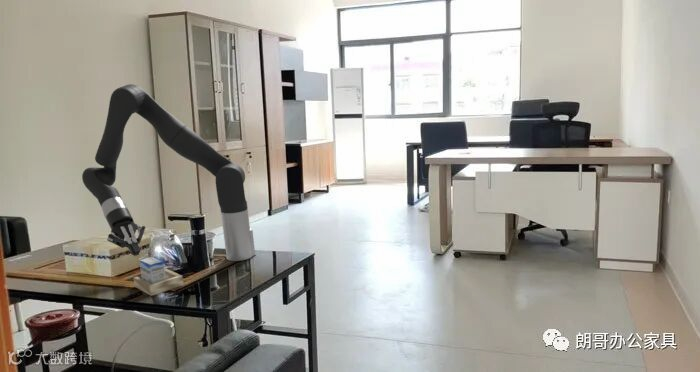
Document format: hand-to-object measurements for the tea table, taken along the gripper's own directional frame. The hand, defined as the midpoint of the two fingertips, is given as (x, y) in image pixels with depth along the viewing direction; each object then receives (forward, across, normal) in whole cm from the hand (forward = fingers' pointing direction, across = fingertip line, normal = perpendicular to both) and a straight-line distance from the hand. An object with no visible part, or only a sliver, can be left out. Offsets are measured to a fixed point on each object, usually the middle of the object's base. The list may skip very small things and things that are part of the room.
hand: (137, 254), depth 174 cm
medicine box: (+15, -1, -4) cm, 16 cm away
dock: (+15, 0, -4) cm, 16 cm away
